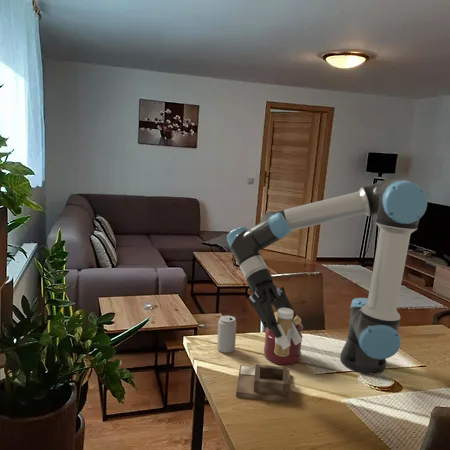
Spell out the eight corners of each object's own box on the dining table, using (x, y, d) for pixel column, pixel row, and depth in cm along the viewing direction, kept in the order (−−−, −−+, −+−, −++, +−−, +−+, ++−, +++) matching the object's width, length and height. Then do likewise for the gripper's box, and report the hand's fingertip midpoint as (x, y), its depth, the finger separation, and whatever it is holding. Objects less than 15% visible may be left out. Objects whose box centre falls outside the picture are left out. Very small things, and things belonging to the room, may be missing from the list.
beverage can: (233, 355, 150) (234, 322, 148) (215, 352, 151) (216, 320, 149) (236, 347, 156) (238, 316, 154) (219, 344, 157) (220, 313, 155)
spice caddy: (288, 374, 139) (290, 360, 138) (291, 402, 123) (292, 386, 122) (239, 369, 140) (240, 355, 140) (235, 396, 125) (236, 380, 124)
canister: (304, 366, 145) (309, 316, 142) (266, 365, 144) (270, 315, 141) (295, 348, 158) (299, 303, 155) (260, 347, 157) (264, 302, 154)
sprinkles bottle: (271, 353, 124) (274, 309, 122) (279, 348, 128) (283, 305, 125) (284, 359, 121) (288, 314, 119) (292, 353, 125) (296, 310, 122)
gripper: (269, 275, 138) (304, 342, 129) (228, 284, 127) (263, 358, 118) (283, 264, 133) (320, 332, 124) (242, 271, 122) (279, 347, 113)
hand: (292, 345), depth 121 cm, fingers closed on sprinkles bottle, 4 cm apart
